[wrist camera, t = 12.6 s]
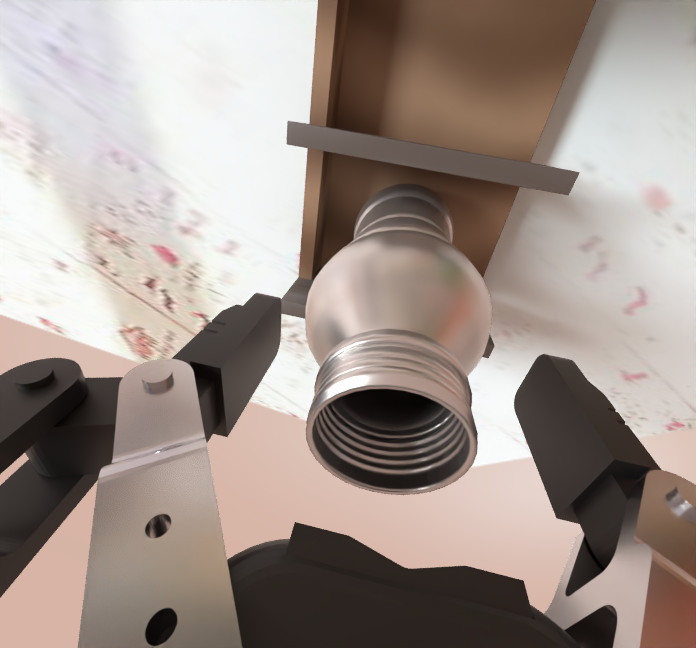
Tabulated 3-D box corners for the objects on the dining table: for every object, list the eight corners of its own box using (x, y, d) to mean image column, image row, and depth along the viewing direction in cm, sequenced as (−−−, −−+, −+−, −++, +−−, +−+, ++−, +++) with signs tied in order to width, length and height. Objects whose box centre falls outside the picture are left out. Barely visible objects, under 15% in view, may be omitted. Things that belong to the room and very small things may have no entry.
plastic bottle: (453, 256, 24) (560, 532, 7) (369, 273, 26) (297, 525, 9) (443, 167, 21) (580, 278, 4) (348, 193, 23) (186, 343, 6)
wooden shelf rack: (346, -86, 17) (301, -246, 10) (606, -51, 16) (762, -200, 9) (312, 268, 28) (280, 313, 21) (467, 300, 27) (488, 358, 20)
